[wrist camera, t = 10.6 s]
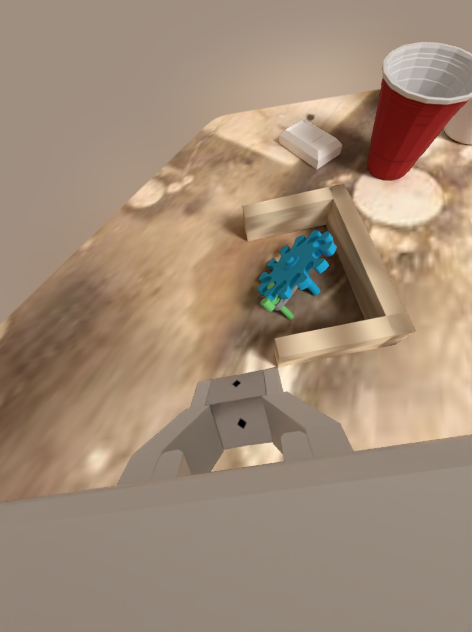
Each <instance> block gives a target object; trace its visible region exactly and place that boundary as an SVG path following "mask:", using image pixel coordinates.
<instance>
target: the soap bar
mask: <svg viewBox="0 0 472 632" xmlns="http://www.w3.org/2000/svg"><path fill="white" fill-rule="evenodd" d="M279 143H280V144H281V145H283V146H284V147H286V148H287V149H288V150H290V151H291V152H293V153H294V154H295V155H297V156H298V157H300V158H301V159H302V160H304V161H305V162H307V163H308V164H310V165H311V166H312V167H314V168H315V169H318V168H320V167H321V166H323V165H324V164H326V163H327V162H329V161H330V160H332V159H333V158H335V157H337V156H338V155H340V153H341V149H342V144H341V143H340V142H339V140H338V139H337V138H335V137H333V136H332V135H330V134H328V133H327V132H325V131H323V130H322V129H320V128H319V127H317V126H315V125H314V124H312V123H310V122H309V121H307V120H306V119H304V118H303V119H302V120H300V121H299V122H297V123H295V124H294V125H292V126H290V127H289V128H287V129H286V130H284V131H283V132H282V133H280V134H279Z"/></svg>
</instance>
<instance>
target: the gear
mask: <svg viewBox="0 0 472 632" xmlns="http://www.w3.org/2000/svg"><path fill="white" fill-rule="evenodd" d="M336 248H337V247H336V245H335V244H334V243H333V237H332V236H331V234H330V233H329V231H326V232H325V233H323V234H322V235H321V233H320V232H319V231H318V230H314V231H313V232H312V233H311V234H310V235H309V237H308V238H307V239H306V237H305V236H304V235H302V236H299V237H297V238H296V239H295V243H294V245H293V247H292V248H291V249H290V248H289V246H288V245H287V246H285V247H283V248H282V249H281V250H280V253H281V258H280V260H279V262H277V261H276V260H275V259H274V258H273V259H272V260H271V261H270V262H269V263H268V264H267V267H268V268H269V269H270V270H273V271H272V272H271V273H270V274H268V273H267V272H263V273H262V274H261V276H260V278H259V280H260V281H261V282H262V284H260V285H259V287H258V292H259V293H260V294H261V295H262V296H263V295H264V296H265V297H266V298H264V299H263V300H262V301H261V303H260V304H261V305H262V306H263V307H264V308H265V309H266V310H267V311H268V312H271V311H273V310H275V311H278V310H280V311H281V312H282V313H283V314H284V315H285V316H286V317H287V318H288V319H289V320H291V319H293V318H294V315H293V314H292V313H291V312H290V311H289V310H288V309H287V308H286V307H285V306H284V305H285V304H286V302H287V301H288V300H289V298H290V297H291V296H292V295H293V293H294V292H295V291H296V289H297V288H298V287H299V288H300V289H301V290H303V289H305V288H308V289H309V291H310V292H311V293H312V294H313V295H318V294H319V293H320V289H319V288H318V286H317V285H316V284H315V283H314V282H313V280H312V279H311V278H310V277H309V276H308V275H309V271H310V270H311V269H312V268H314V269H315V270H316V271H317V273H319V274H321V273H322V272H323V271H325V270H326V269H327V267H328V266H329V264H328V263H327V261H326V260H325V259H324V258H320V259H317V258H318V257H319V256H320V255H322V254H325V255H326V256H327V257H329V256H332V255H333V254H334V252H335V250H336ZM267 282H268V283H267Z"/></svg>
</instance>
